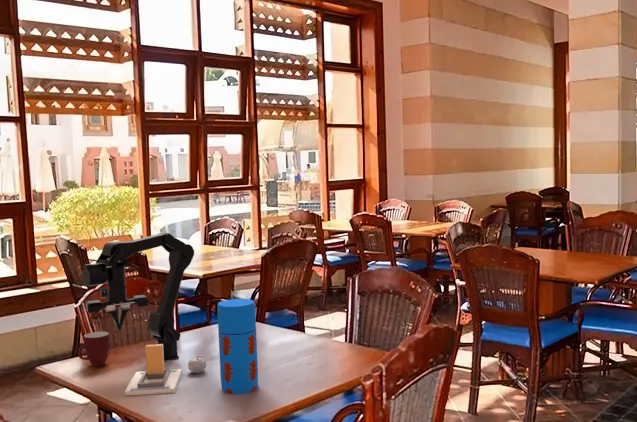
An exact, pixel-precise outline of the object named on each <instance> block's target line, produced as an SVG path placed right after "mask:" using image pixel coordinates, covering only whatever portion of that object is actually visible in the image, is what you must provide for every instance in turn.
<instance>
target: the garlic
mask: <svg viewBox="0 0 637 422" xmlns="http://www.w3.org/2000/svg"><path fill="white" fill-rule="evenodd" d="M203 358H204V356H202V355H198V356H197V357H194V358H192V359H190V360H189V361H188V366H187V368H188V369H189V371H190V372H191V373H193V374H201V373H203V372H205V370H206V368H207V362H206V360H204V359H203Z"/></svg>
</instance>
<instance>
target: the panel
mask: <svg viewBox="0 0 637 422" xmlns="http://www.w3.org/2000/svg"><path fill="white" fill-rule="evenodd" d="M164 369H165V368H164ZM182 375H183V369H182V368H181V369H179V368H178V369H177V368H176V369H174V368H173V369H171V368H166V369H165V375H164V377H163V378H149V379H147V369H145V370H144V371H143V370H140V371H136V372H135V374H134V375H133V377H132V379H131V380H130V382H129V383H128V384H127V387H125V391H124V396H137V395H141V396H142V395H154V394H156V395H157V394H172V393H173V394H175V392H176V391H177V387H178V385H179V382H180V380H181V377H182Z"/></svg>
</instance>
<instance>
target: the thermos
mask: <svg viewBox="0 0 637 422" xmlns="http://www.w3.org/2000/svg"><path fill="white" fill-rule="evenodd" d="M255 306H256V305H255V300H253V299H247V298H246V299H245V298H233V299H226V300H222V301H219V302H218V303H217V330H218V348H219V350H218V351H219V352H218V353H219V368H220V370H219V372H220V373H219V374H220V385H221V391H222V392H223V393H226V394H230V395H244V394H248V393H252V392H254V391H256V390H257V389H258V388H259V366H258V344H257V343H258V339H257V321H256V320H257V319H256V317H257V316H256V307H255Z"/></svg>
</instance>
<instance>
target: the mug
mask: <svg viewBox="0 0 637 422" xmlns="http://www.w3.org/2000/svg"><path fill="white" fill-rule="evenodd" d="M110 339H111V338H110V333H109V332H108V331H93V332H89V333H85V334H84V336H83V344H82V345H80V347H78V351H77V355H78V358H79V359H80V360H82V361H83V360H84V361H89V362H90V364H91V365H92V366H93V367H100V366H104V365H105V364H106V363H107V359H108V357H109V352H110V341H111V340H110ZM84 349H85V353H86V357H83V355H82V352H83V350H84Z"/></svg>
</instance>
